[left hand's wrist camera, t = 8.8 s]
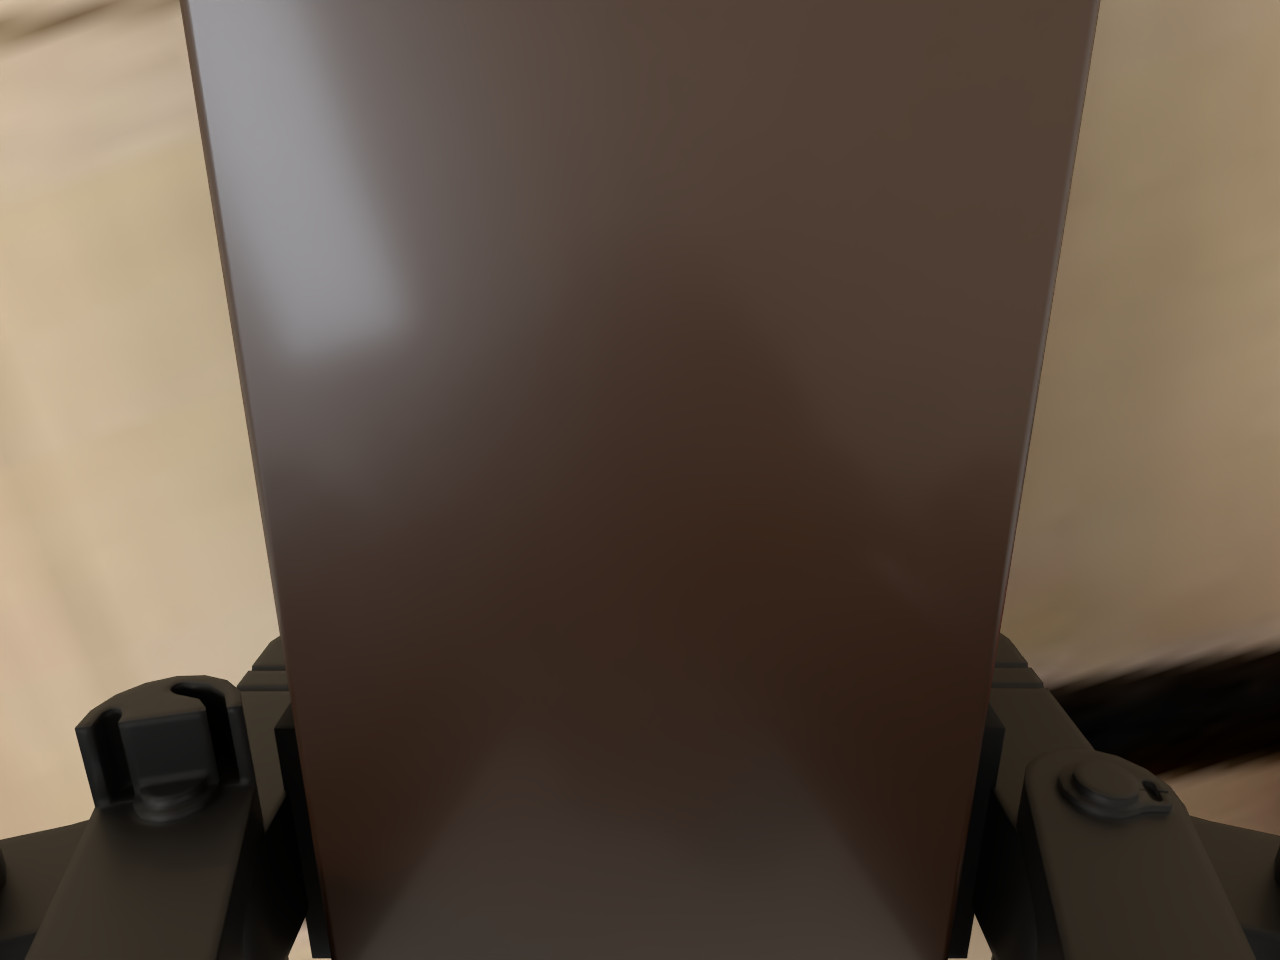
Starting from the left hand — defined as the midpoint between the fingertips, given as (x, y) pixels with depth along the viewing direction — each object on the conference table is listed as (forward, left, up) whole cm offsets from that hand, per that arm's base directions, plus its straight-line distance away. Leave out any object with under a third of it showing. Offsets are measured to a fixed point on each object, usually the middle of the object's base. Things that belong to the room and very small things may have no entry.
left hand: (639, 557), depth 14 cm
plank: (+10, +5, 0) cm, 11 cm away
